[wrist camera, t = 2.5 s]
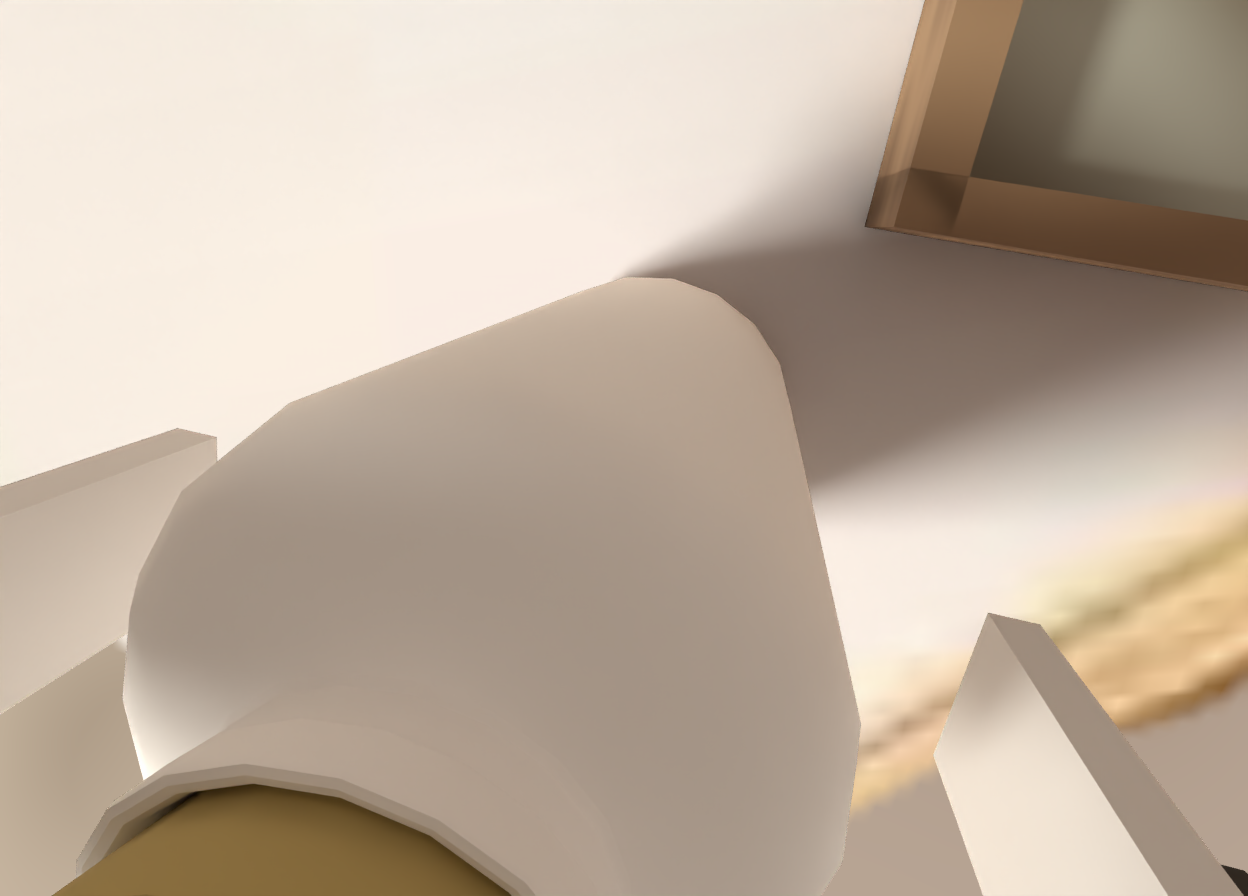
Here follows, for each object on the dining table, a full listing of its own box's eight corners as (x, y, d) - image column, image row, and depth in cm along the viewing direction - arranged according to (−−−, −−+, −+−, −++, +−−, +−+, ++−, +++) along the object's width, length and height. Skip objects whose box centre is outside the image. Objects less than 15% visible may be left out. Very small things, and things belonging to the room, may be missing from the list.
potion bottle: (821, 302, 19) (1319, 844, 2) (753, 561, 22) (763, 1657, 5) (538, 249, 20) (-540, 369, 3) (507, 504, 23) (-167, 1275, 6)
